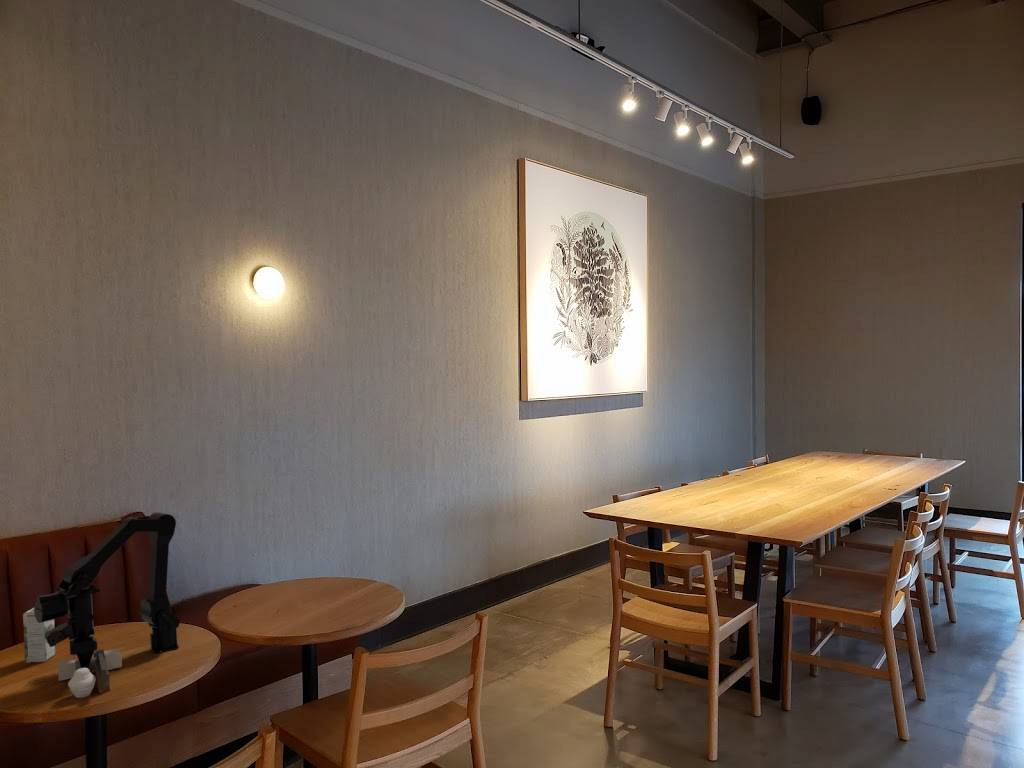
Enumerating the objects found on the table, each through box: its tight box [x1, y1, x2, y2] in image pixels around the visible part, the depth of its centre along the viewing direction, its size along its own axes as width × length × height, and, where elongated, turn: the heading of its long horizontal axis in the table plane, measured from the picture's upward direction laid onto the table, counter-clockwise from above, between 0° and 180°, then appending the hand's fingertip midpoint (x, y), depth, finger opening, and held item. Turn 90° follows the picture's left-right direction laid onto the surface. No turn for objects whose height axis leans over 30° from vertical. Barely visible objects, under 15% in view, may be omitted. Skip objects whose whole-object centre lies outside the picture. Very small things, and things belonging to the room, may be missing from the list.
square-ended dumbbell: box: [57, 647, 123, 682], centre depth 205 cm, size 15×4×4 cm, turn 122°
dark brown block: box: [93, 648, 111, 694], centre depth 201 cm, size 2×22×4 cm, turn 32°
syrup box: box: [22, 606, 57, 664], centre depth 217 cm, size 6×6×14 cm
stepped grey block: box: [96, 648, 107, 678], centre depth 197 cm, size 2×16×2 cm, turn 32°
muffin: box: [67, 668, 97, 699], centre depth 190 cm, size 6×6×7 cm
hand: (84, 669), depth 205 cm, fingers closed on square-ended dumbbell, 3 cm apart
